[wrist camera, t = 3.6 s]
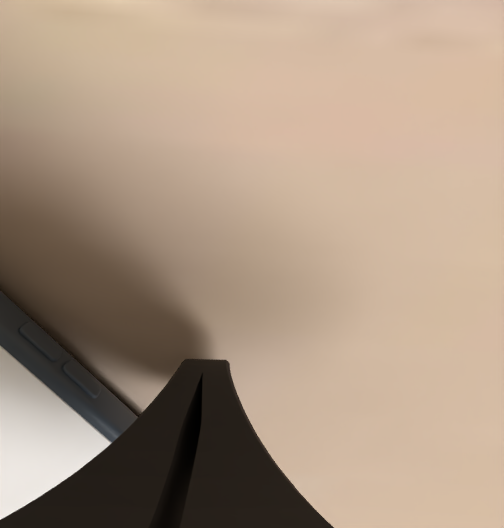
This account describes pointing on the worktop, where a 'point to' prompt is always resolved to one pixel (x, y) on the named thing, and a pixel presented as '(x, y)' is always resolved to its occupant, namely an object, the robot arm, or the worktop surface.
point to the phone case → (47, 411)
